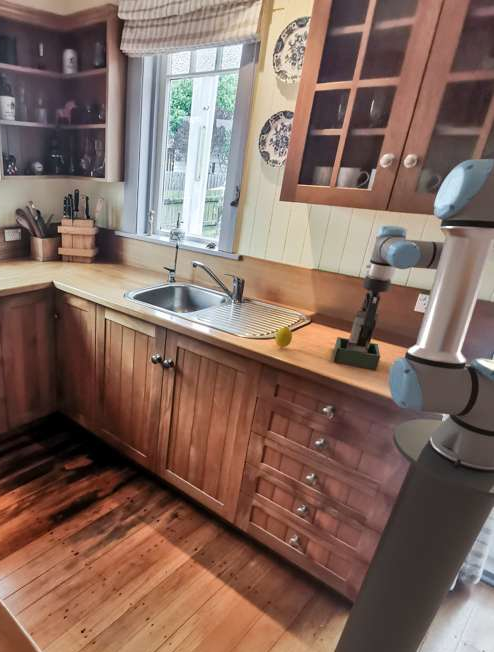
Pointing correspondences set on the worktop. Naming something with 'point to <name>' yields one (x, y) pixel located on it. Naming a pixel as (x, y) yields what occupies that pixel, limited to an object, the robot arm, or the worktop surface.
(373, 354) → the box
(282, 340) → the lemon
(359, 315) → the coffee box
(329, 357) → the worktop surface
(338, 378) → the worktop surface
